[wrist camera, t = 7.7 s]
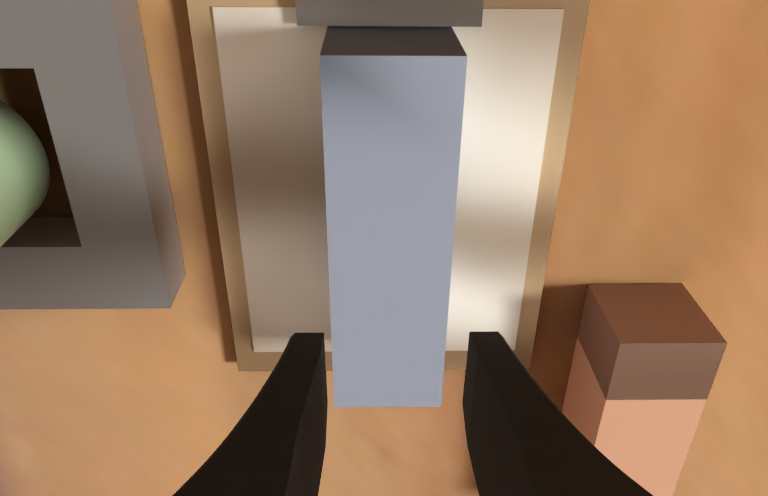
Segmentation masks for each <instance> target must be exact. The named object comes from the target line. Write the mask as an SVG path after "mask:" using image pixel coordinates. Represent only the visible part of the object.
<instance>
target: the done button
mask: <svg viewBox="0 0 768 496" xmlns="http://www.w3.org/2000/svg"><path fill="white" fill-rule="evenodd" d="M49 185H50V168H49V163H48V158H47V156H46V153H45V150H44V148H43V146H42V144H41V142H40V140H39V138H38V137H37V135H36V134H35V132H34V131H33V129H32V128H31V127H30V126H29V124H28V123H27V122H26V121H25V120H24V119H23V118H22V117H21V116H20V115H19V114H18V113H17V112H16V111H14V110H13V109H12V108H11V107H10V106H8V105H7V104H5V103H4V102H2V101H1V100H0V247H1V246H2V245H3V244H4V243H5V242H6V241H7V240H8V239H9V238H10V237H11V236H12V235H13V234H14V233H15V232H16V231H17V230H18V229H19V228H20V227H21V226H22V225H23V224H24V223H25V222H26V221H27V220H28V219H29V218H30V217H31V216H32V215H33V213H34V212H35V211H36V210H37V209H38V208H39V207H40V206H41V204H42V203H43V202H44V200H45V198H46V195H47V193H48V189H49Z"/></svg>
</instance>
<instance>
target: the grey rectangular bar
mask: <svg viewBox="0 0 768 496" xmlns="http://www.w3.org/2000/svg"><path fill="white" fill-rule="evenodd" d="M466 68H467V54H466V53H465V51H464V49H463V47H462V45H461V43H460V41H459V40H458V38H457V36H456V34H455V32H454V30H453V28H452V27H415V26H327V30H326V34H325V38H324V41H323V45H322V49H321V53H320V73H321V97H322V122H323V146H324V171H325V195H326V219H327V244H328V268H329V293H330V317H331V341H332V366H333V390H334V407H441V402H442V388H443V375H444V362H445V348H446V335H447V322H448V308H449V295H450V282H451V268H452V255H453V242H454V228H455V215H456V202H457V188H458V175H459V162H460V148H461V135H462V122H463V108H464V95H465V82H466Z"/></svg>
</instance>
